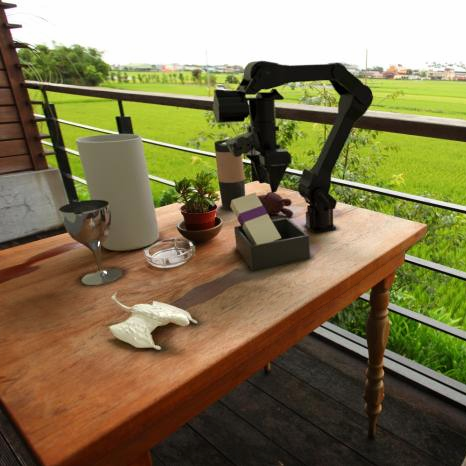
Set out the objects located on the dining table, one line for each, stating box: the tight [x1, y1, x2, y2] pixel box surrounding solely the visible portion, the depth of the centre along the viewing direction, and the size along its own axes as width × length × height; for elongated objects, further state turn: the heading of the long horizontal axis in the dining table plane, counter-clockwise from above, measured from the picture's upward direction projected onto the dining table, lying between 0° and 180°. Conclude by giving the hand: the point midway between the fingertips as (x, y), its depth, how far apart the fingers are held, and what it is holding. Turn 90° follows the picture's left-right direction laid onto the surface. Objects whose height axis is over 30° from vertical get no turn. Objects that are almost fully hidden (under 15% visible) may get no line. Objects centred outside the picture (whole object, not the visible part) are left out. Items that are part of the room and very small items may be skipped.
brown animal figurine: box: [257, 191, 294, 217], centre depth 114 cm, size 7×7×15 cm
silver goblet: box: [58, 199, 123, 286], centre depth 76 cm, size 8×8×15 cm
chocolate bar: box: [230, 192, 281, 246], centre depth 90 cm, size 3×6×13 cm
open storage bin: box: [233, 217, 311, 271], centre depth 89 cm, size 13×13×6 cm
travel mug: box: [213, 139, 246, 211], centre depth 118 cm, size 8×8×20 cm
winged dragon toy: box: [109, 291, 198, 351], centre depth 63 cm, size 18×10×4 cm, turn 66°
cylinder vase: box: [75, 133, 160, 252], centre depth 90 cm, size 12×12×25 cm
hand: (267, 187), depth 94 cm, fingers open, 9 cm apart
